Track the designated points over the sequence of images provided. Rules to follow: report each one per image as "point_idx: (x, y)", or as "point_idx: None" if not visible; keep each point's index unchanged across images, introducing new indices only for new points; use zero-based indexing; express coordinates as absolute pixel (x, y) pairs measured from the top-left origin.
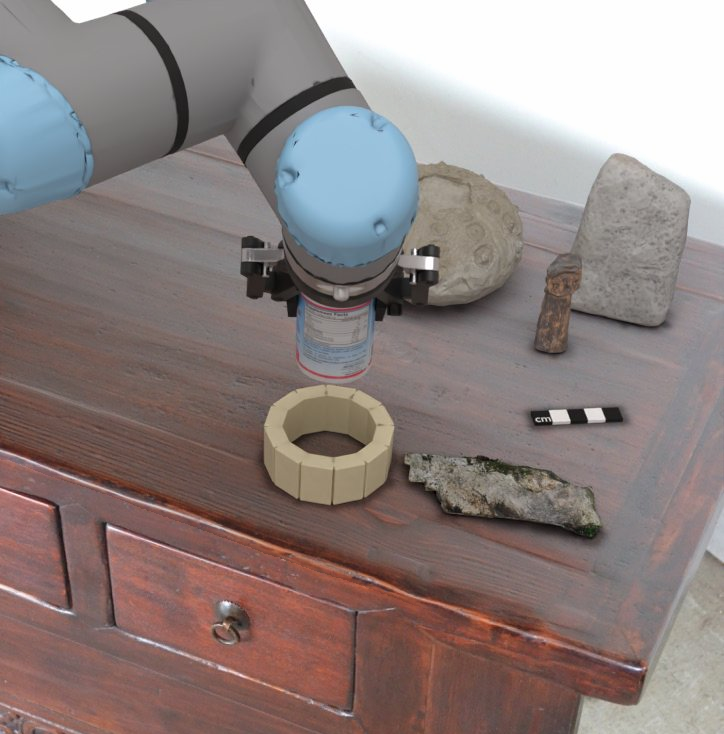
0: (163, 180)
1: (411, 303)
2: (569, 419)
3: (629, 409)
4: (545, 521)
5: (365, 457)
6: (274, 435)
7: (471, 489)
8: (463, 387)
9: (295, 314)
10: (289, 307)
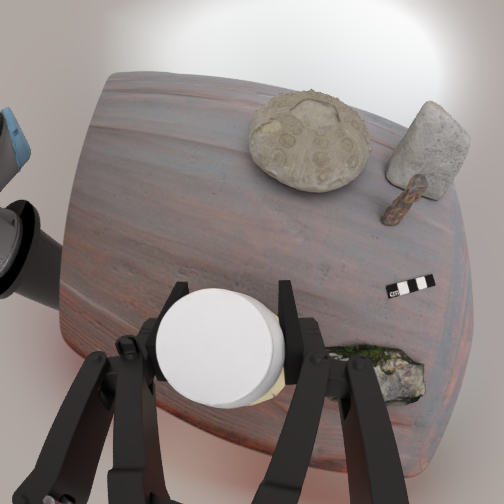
0: (153, 112)
1: (338, 400)
2: (408, 290)
3: (436, 273)
4: (395, 398)
5: (273, 390)
6: None
7: None
8: (341, 263)
9: None
10: None
